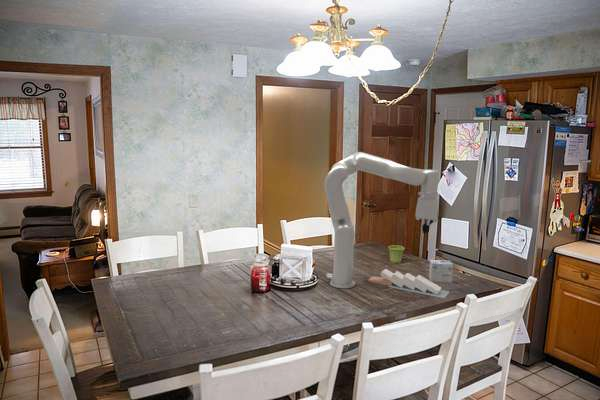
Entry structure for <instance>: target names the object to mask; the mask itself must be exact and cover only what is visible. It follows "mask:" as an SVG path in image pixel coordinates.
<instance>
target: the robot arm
mask: <svg viewBox="0 0 600 400" xmlns="http://www.w3.org/2000/svg"><path fill="white" fill-rule="evenodd" d="M358 171H362V172H364V173H368V174H373V175H376V176H379V177H382V178H386V179H389V180H395V181H398V182H401V183H404V184H408V185H412V186H416V187H417V186H421V188H420V191H418V192H417V195H419V197H418V198H417V203H416V207H415V213H414V214H415V218H414V219H415V220H416V221H417V220H418V221H419V222H420V223H421V225H422V228H421V231H422V234H428V233H429V232H430V229H431V228H430V227H431V224H432V225H433V224H434V223H438V222H439V219H438V218H439V214H440V213H439V210H440V208H439V207H440V206H439V199H438V190H439V189H438V187H439V180H440V179H439V177H440V173H439V171H438V170H436V169H430V168H429V169H428V168H427V169H423V168H422V169H421V168H415V167H410V166H406V165H403V164H401V163H398V162H396V161H394V160H390V159H387V158H383V157H380V156H377V155H374V154H370V153H366V152H363V151H358V152H356V153H353V154H352V155H350V156H348V157H346V158H344V159H342V160H340V161H338V162H336V163H334V164H333V165H332V167H331V169H330V171H329V172H328V173H327V175H326V176H325V180H324V192H325V197H326V201H327V205H328V212H329V216H330V219H331V220H330V221H331V222H332V223H331V224H332V226H333V230H334V231H333V232H334V243H333V270H332V271H333V273H330V272H326V275H325V276H326V279H330V281H329V285H330V286H332V287H334V288H337V289H351V288H353V287H355V286H356V282H355V280H353V273H354V272H353V271H354V247H355V235H356V233H355V228H354V225H353V222H352V219H351V216H350V211H349V205H348V203H347V201H346V198H345V194H344V193H345V192H344V189H343V184H344V182H345V181H346V180H347V179H348V178H349V176H351V175H353V174H355V173H357V172H358Z"/></svg>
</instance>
